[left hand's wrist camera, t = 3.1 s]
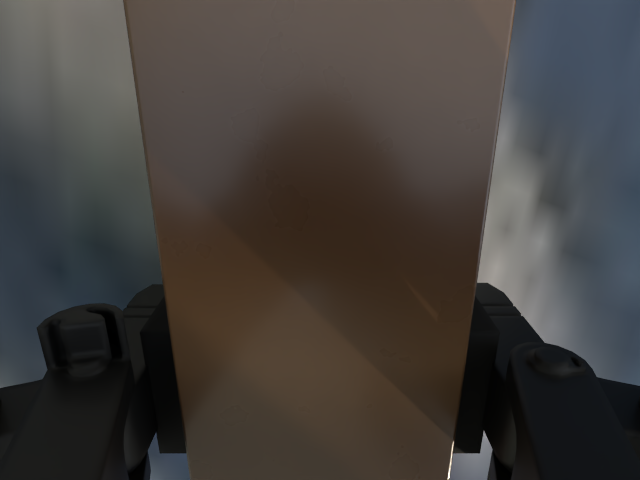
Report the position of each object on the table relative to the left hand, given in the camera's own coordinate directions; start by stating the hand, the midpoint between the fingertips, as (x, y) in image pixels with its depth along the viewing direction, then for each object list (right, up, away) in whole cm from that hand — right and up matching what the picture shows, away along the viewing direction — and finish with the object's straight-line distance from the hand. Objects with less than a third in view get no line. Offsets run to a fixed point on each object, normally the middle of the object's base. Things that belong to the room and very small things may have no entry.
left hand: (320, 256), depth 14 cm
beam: (0, +21, -7) cm, 22 cm away
